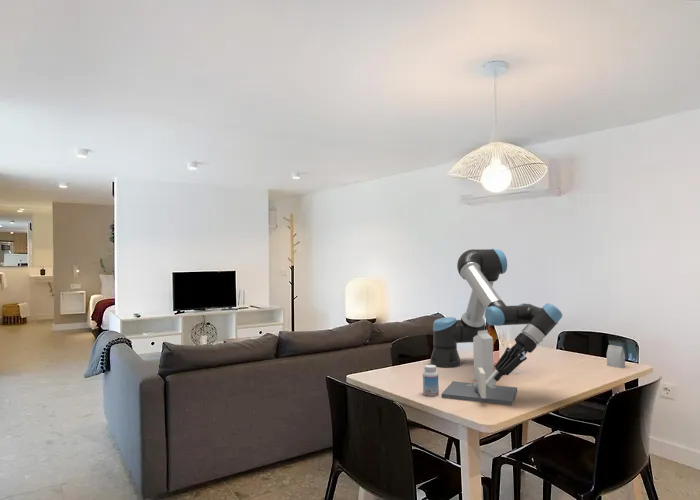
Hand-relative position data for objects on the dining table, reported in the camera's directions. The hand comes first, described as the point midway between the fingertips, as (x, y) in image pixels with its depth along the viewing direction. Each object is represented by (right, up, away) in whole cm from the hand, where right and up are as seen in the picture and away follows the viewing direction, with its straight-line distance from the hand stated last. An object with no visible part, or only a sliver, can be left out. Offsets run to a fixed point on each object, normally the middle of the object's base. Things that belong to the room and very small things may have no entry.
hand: (487, 385), depth 173 cm
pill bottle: (-19, -7, +12) cm, 24 cm away
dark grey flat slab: (0, -7, +11) cm, 13 cm away
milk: (+8, -7, +32) cm, 33 cm away
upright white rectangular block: (-1, -5, +8) cm, 10 cm away
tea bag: (+79, -7, +54) cm, 96 cm away
